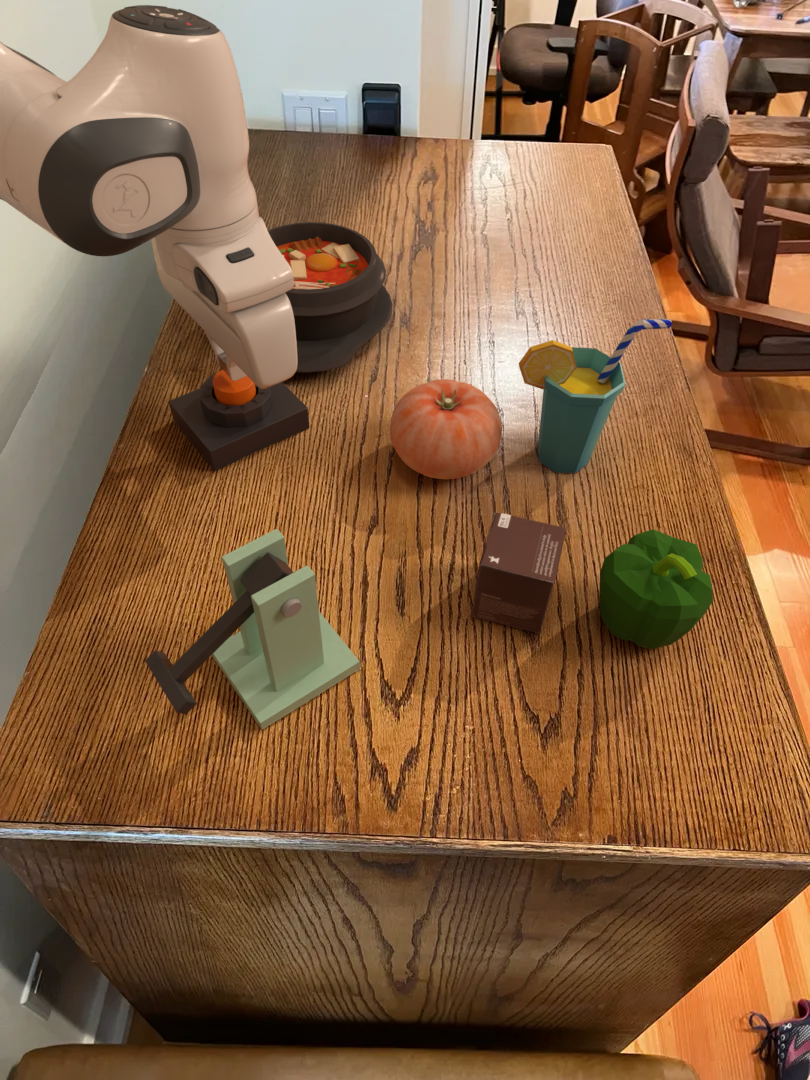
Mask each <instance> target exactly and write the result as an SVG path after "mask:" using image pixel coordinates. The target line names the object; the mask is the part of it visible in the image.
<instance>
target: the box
mask: <svg viewBox="0 0 810 1080" xmlns="http://www.w3.org/2000/svg"><path fill="white" fill-rule="evenodd" d="M566 530H567V529H566V527H564V526H559V525H556V524H551V523H547V522H543V521H537V520H533V519H528V518H524V517H520V516H516V515H513V514H509V513H503V512H497V511H496V512H494V513H493V517H492V519H491V523H490V526H489V530H488V533H487V536H486V539H485V542H484V546H483V549H482V550H483V551H482V552H481V553H482V554H481V557H480V560H479V563H478V570H477V577H476V582H475V586H474V587H475V589H474V593H473V594H474V595H473V603H472V608H471V617H472V618H476V619H480V620H483V621H488V622H491V623H497V624H500V625H504V626H508V627H512V628H515V629H516V628H517V629H519V630H523V631H527V632H531V633H535V634H540V633H541V631H542V627H543V623H544V620H545V617H546V613H547V609H548V605H549V601H550V598H551V595H552V593H553V588H554V585H555V583H556V579H557V574H558V570H559V565H560V561H561V555H562V551H563V546H564V541H565V536H566Z"/></svg>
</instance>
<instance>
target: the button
mask: <svg viewBox="0 0 810 1080" xmlns="http://www.w3.org/2000/svg"><path fill="white" fill-rule="evenodd" d="M215 374H216V375H215V376H214V378H213V386H214V391H215V396H216V399H217V400H218V401H219V402H220V403H222V404H224V405H227V406H233V405H242V404H245V403H247V402H249V401H251V400H252V399H253V398H254V397H255V395H256V387H255V384H254V383H253V381H252V380H251V379H250V378H249V377H248V376H246V377H244V378H241V379H239V380H237V381H233V380H232V379H231V378H230V377H229V376H228V375H227V374H226V373H225V372H224V371H223V370H222V369H221V370H219V371H218V372H216V373H215Z"/></svg>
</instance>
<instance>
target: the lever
mask: <svg viewBox="0 0 810 1080" xmlns="http://www.w3.org/2000/svg"><path fill="white" fill-rule="evenodd" d="M294 572H295V571H294V570H292V568H291V567H290V566H289V564H288V565H287V564H286V562H284V561H282V560H281V559H279V558H277V557H276V556H274V555H272V554H271V553H269V552H267V553H266V554H265V555H264V556H263V557H262V558H261V559H260V560H259V561H258V562H257V563H256V564H255V565H254V566H253V567H252V568H251V569H250V570H249V571H248V572H247V573H246V574H245V575H244V576H243V577H242V578H241V579H240V581H241V583H242V584H243V585H244V587H245V588H246V589H247V591H246V592H245V593H244V594H243V595H242V596H241V597H240V598H239V599H238V600H237V601H236V602H235V603H234V604H233V603H232V605H231V606H230V607H229V608H228V609H226V611H225V612H223V614H222V615H220V616H219V618H218V619H217V620H216V621H215V622H214V623H213V624H212V625H210V627H208V629H207V630H206V631H205V632H204V633H203V634H202V635H201V636H200V637H199V638H198V639H197V640H196V641H195V642H193V644H192V645H191V646H190V647H189V648H188V649H187V650H186V651H185V652H184V653H183V654H182V655H181V656H180V657H179V658H178V659H177V660H176V661H175V662H174V663H172V662H171V660H170V658H169V657H168V655H167V654H166V652H163V651H159V650H156V649H154V651H153V652H152V653H150V655H149V656H148V657H147V658H145V660H144V662H145V664H146V665H147V667H148V668H149V670H150V671H151V674H152V675H153V677H154V678H155V680H156V682H157V683H158V685H159V687H160V689H161V690H162V692H163V693H164V695H165V696H166V698H167V700H168V701H169V703H170V705H171V706H172V708H173V709H174V711H175V712H176V714H177V713H178V714H180V715H181V714H182V715H188V713H189V712H190V711H192V710H193V708H194V707H195V706H196V705H197V704H198V703H197V701H196V700H195V698H194V696H193V694H192V693H191V692H190V690H189V689H188V687H187V686H186V684H185V683H186V682H187V681H188V680H189V678H191V676H192V675H194V674H195V673H196V672H197V670H199V669H200V667H201V666H202V665H204V663H206V662H207V661H208V659H209V658H210V657H212V654H213V653H214V652H215V651H216V650H217V649H218V648H219V647H220V646H221V645H222V644H223V643H224V642H225V641H226V640H227V639H228V638H229V637H231V636H233V635H234V634H235V632H236V631H237V630H238V629H240V628H239V627H240V626H241V625H242V624H243V623H244V622H245V621H246V620H247V619H248V618H249V617H250V616H251V615H252V614H253V613H254V608H253V604H252V599H251V595H253V594H255V593H257V592H259V591H261V590H262V589H264V588H266V587H268V586H270V585H272V584H273V583H275V582H277V581H279V580H281V579H283V578H285V577H286V576H288V575H290V574H292V573H294Z"/></svg>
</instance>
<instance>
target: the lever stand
mask: <svg viewBox="0 0 810 1080" xmlns="http://www.w3.org/2000/svg"><path fill="white" fill-rule="evenodd" d="M285 541H286V540H285V536H284V535H283V534H282V532H281V531H280V530H279V529H278V528H275V529H273V530H271V531H269V532H267V533H265V534H263V535H261V536H259V537H257V538H255V539H253V540H251V541H250V542H248V543H246V544H244V545H241V546H239V547H237V548H236V549H234V550H232V551H230V552H227V553H226V554H224V555H221V561H222V565H223V569H224V573H225V577H226V580H227V585H228V588H229V592H230V596H231V601H232V605H233V604H234V603H235V602H236V601H237V600H238V599H239V598H240V597H241V596H242V595H243V594H244V593H245V592H246V591H247V589H246V588H245V587H244V585H243V584H242V583H241V581H240V579H241V578H242V577H243V576H244V575H245V574H246V573H247V572H248V571H249V570H250V569H251V568H252V567H253V566H254V565H255V564H256V563H257V562H258V561H259V560H260V559H261V558H262V557H263V556H264V555H265V554H266V553H267V552H269V553H271V554H272V555H274V556H276V557H277V558H279V559H281V560H282V561H284V562H286V564H287V565H288V566H289V562H288V561H289V560H288V553H287V548H286V542H285ZM293 572H294V573H292V574H290V575H288V576H286V577H285V578H283V579H281V580H279V581H277V582H275V583H273V584H272V585H270V586H268V587H266V588H264V589H262V590H261V591H259V592H257V593H255V594H253V595H251V599H252V604H253V608H254V613H253V614H252V615H251V616H250V617H249V618H248V619H247V620H246V621H245V622H244V623H243V624H242V625H241V626H240V627H239V628H238V629H239V631H238V632H236V633H234V634H232V635H231V636H230V637H229V638H228V639H227V640H226V641H225V642H224V643H223V644H222V645H221V646H220V647H219V648H218V649H217V650H216V651H215V652H214V653H213V654H212V655H211V657H212V658H213V660H214V661H215V664H216V665H217V666H218V668H219V669H220V671H221V672H222V673H223V675H224V677H225V678H226V680H227V681H228V682H229V684H230V685H231V687H232V688H233V690H234V692H235V693H236V694H237V696H238V697H239V698H240V700H241V701H242V703H243V705H244V706H245V708H246V709H247V710H248V712H249V714H250V715H251V716H252V718H253V720H254V721H255V722H256V723H257V725H258V727H259V729H260V730H261V731H264V730H265V729H267V728H268V727H269V726H272V725H273V724H274V723H276V722H278V721H279V720H281V719H282V718H284V717H286V716H287V715H289V714H291V713H292V712H294V711H295V710H297V709H298V708H300V707H302V706H303V705H305V704H306V703H308V702H309V701H311V700H313V699H314V698H316V697H318V696H319V695H320V694H322V693H324V692H326V691H327V690H329V689H330V688H332V687H333V686H335V685H336V684H338V683H340V682H341V681H343V680H345V679H346V678H348V677H350V676H352V675H353V674H354V673H356V672H358V671H359V670H361V663H360V660H359V659H358V658H357V657H356V655H355V654H354V653H353V651H352V650H351V649H350V648H349V646H348V645H347V644H346V643H345V641H344V640H343V639H342V638H341V637H340V635H339V634H338V633H337V632H336V630H335V629H334V628H333V627H332V625H331V624H330V622H328V620H327V619H326V618H325V617H324V615H323V614H322V613H321V612H320V609H319V600H318V589H317V581H316V574H315V572H314V571H313V570H312V569H311V567H310V566H309V565H304V566H303V567H301V568H299V569H297V570H295V571H293Z"/></svg>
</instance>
